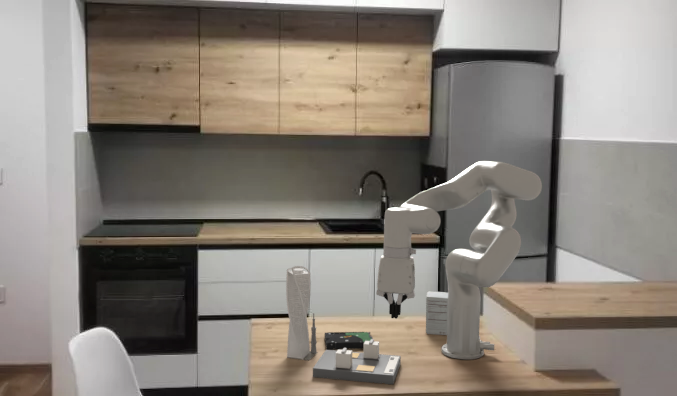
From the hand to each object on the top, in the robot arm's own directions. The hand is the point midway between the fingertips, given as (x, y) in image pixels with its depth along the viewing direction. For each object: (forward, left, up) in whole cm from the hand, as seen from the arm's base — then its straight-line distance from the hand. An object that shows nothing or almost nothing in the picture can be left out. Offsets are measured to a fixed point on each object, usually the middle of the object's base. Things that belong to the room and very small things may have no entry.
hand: (394, 317), depth 182 cm
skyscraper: (+29, -3, -15) cm, 33 cm away
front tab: (+13, +9, -12) cm, 19 cm away
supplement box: (-9, -36, -15) cm, 41 cm away
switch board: (+10, +4, -15) cm, 18 cm away
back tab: (+7, 0, -12) cm, 14 cm away
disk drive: (+17, -17, -16) cm, 29 cm away
